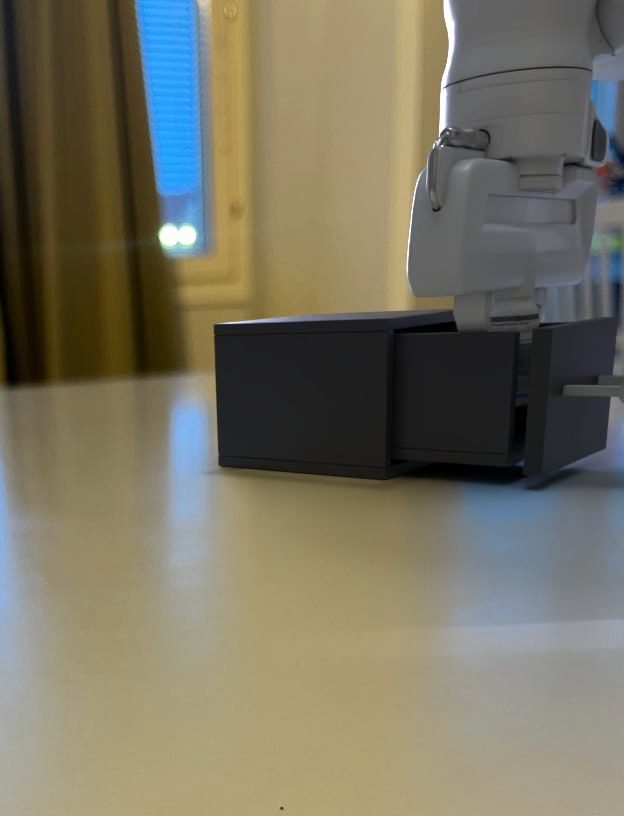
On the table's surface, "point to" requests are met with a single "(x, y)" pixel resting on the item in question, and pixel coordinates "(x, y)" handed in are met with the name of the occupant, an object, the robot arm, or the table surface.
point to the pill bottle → (518, 327)
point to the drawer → (503, 395)
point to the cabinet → (312, 392)
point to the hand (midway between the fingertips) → (498, 363)
